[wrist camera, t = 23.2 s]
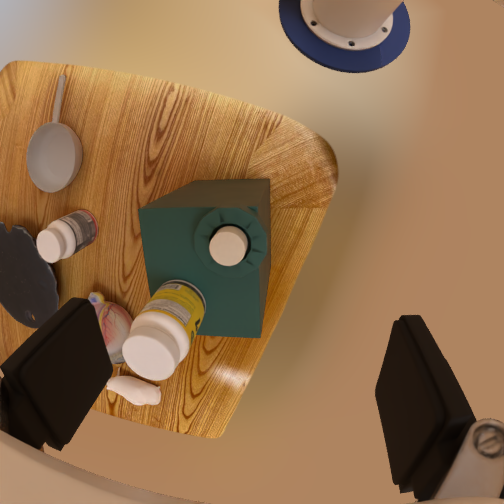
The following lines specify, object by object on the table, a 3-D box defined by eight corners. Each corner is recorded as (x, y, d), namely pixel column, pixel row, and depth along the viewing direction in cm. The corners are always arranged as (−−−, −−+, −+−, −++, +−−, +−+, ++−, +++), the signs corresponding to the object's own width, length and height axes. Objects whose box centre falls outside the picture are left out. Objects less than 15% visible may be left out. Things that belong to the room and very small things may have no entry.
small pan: (37, 182, 44) (22, 186, 40) (53, 77, 38) (38, 74, 34) (83, 194, 44) (69, 199, 40) (104, 78, 38) (89, 75, 34)
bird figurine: (122, 380, 58) (162, 404, 56) (102, 393, 52) (143, 421, 49) (125, 362, 57) (166, 386, 55) (104, 374, 51) (147, 402, 49)
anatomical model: (101, 340, 53) (75, 372, 44) (88, 280, 49) (55, 308, 40) (148, 349, 53) (126, 386, 43) (138, 286, 48) (108, 319, 39)
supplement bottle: (190, 333, 29) (161, 394, 21) (148, 305, 28) (108, 359, 21) (217, 298, 27) (191, 359, 20) (172, 267, 27) (130, 318, 19)
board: (66, 337, 55) (53, 351, 50) (-4, 284, 53) (-18, 294, 49) (83, 246, 47) (66, 258, 42) (3, 194, 46) (-15, 201, 41)
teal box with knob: (194, 178, 42) (128, 210, 24) (275, 176, 40) (266, 207, 23) (200, 264, 46) (151, 340, 28) (276, 265, 45) (267, 349, 27)
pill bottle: (77, 245, 47) (41, 268, 38) (68, 212, 45) (28, 230, 36) (103, 240, 46) (67, 263, 37) (94, 205, 44) (54, 222, 35)
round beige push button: (212, 225, 24) (207, 231, 22) (247, 225, 24) (244, 231, 22) (214, 258, 25) (210, 265, 23) (248, 258, 25) (245, 266, 23)
